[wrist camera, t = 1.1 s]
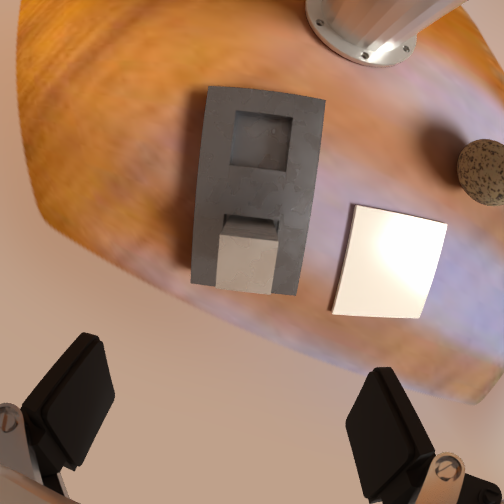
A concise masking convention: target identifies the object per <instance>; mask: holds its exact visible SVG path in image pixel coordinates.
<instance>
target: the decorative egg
mask: <svg viewBox="0 0 504 504" xmlns="http://www.w3.org/2000/svg"><path fill="white" fill-rule="evenodd" d="M457 174H458V179H459V182H460V184H461V186H462V188H463V189H464V191H465V192H466V193H467V194H468V195H469V196H470V197H471V198H472V199H474V200H475V201H477V202H479V203H481V204H484V205H487V206H500V205H504V145H503V144H501V143H499V142H497V141H493V140H489V139H480V140H476V141H473V142H471V143H469V144H468V145H467V146H466V147H465V148H464V149H463V150H462V151H461V153H460V155H459V158H458V162H457Z"/></svg>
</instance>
